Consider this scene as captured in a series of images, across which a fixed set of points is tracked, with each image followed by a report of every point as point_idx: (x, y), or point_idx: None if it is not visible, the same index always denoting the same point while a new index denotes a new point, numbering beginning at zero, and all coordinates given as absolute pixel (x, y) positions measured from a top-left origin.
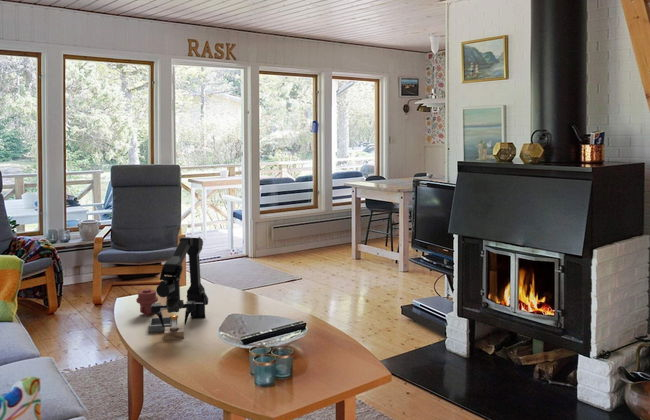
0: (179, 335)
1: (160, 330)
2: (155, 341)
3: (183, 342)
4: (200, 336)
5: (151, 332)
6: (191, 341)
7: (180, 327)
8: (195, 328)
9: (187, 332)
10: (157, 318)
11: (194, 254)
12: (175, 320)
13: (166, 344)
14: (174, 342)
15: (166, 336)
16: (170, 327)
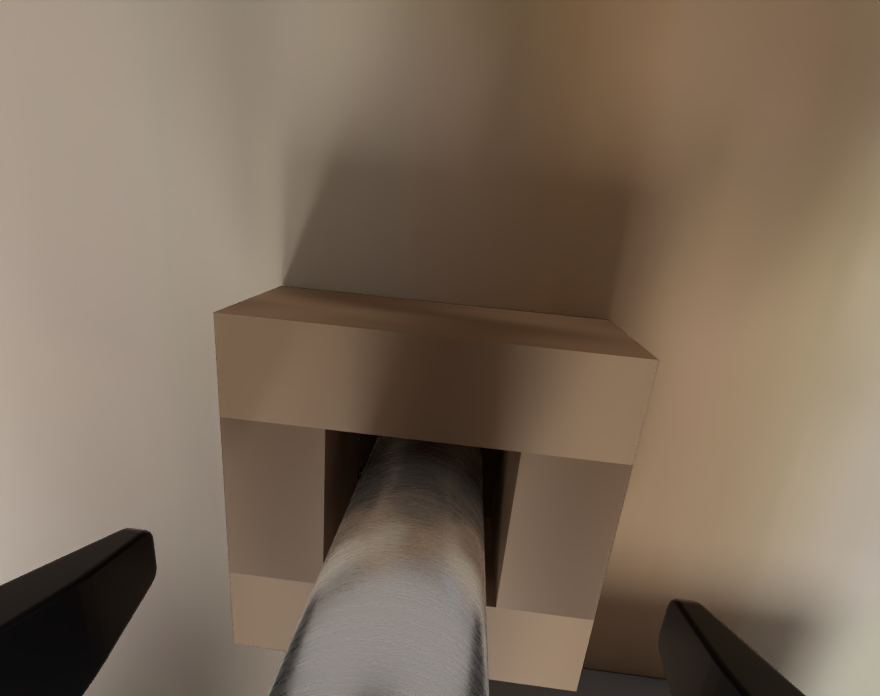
0: (337, 305)
1: (611, 693)
2: (785, 291)
3: (288, 52)
4: (17, 292)
5: None
6: (140, 64)
7: (289, 581)
8: (135, 635)
9: None
10: None
11: None
12: (309, 691)
13: (625, 33)
14: (457, 112)
15: (593, 330)
16: None
